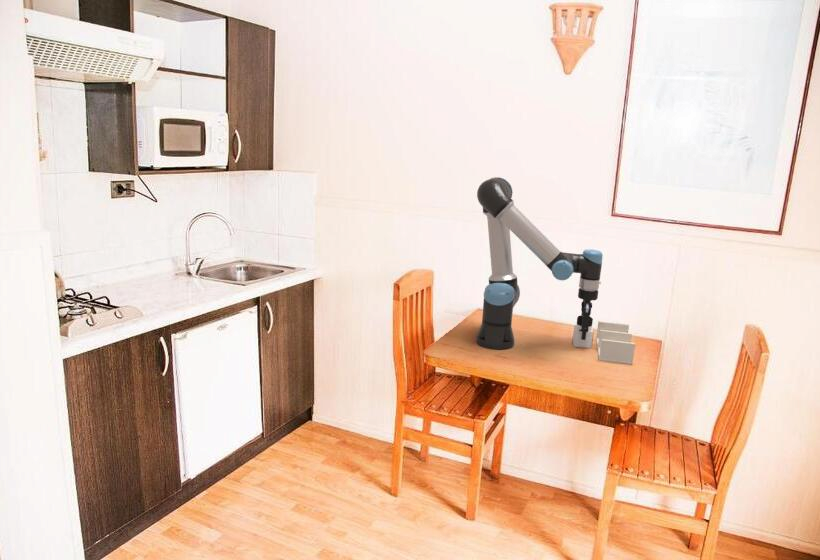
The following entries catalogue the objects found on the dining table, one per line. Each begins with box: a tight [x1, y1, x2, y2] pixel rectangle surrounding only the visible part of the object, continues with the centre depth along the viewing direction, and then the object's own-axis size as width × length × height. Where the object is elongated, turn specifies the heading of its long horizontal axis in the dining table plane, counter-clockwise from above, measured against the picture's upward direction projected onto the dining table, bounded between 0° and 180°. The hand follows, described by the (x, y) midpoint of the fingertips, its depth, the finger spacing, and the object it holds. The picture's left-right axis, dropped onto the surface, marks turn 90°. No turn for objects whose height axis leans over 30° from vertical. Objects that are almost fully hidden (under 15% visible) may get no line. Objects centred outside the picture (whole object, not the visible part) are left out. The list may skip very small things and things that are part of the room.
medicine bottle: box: [572, 315, 594, 349], centre depth 250 cm, size 7×7×12 cm
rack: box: [595, 320, 636, 365], centre depth 245 cm, size 12×25×8 cm, turn 166°
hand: (582, 343), depth 252 cm, fingers closed on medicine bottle, 7 cm apart
